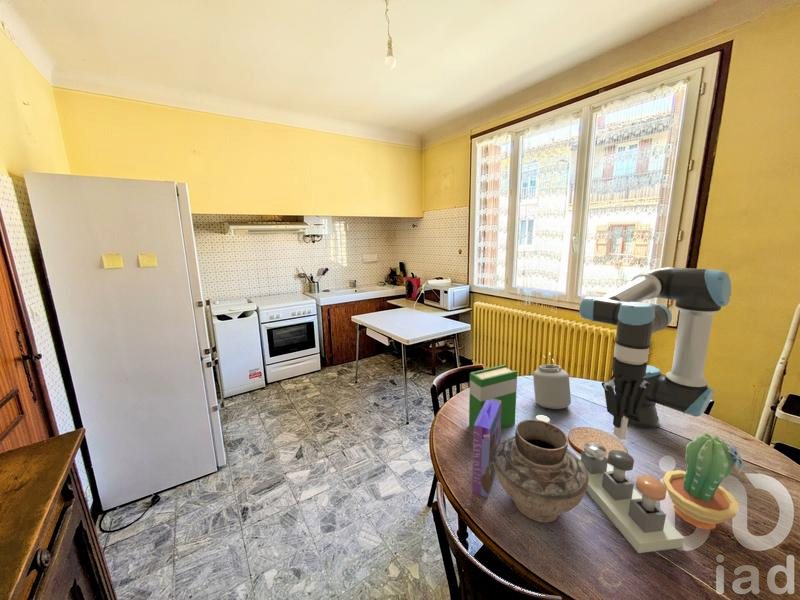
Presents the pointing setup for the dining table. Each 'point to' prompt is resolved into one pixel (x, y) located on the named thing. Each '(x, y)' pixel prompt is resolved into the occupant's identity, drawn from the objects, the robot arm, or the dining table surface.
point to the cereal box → (485, 446)
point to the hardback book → (493, 392)
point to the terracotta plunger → (650, 491)
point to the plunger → (595, 451)
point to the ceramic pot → (540, 471)
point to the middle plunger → (620, 463)
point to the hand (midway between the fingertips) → (619, 436)
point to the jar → (552, 386)
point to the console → (629, 509)
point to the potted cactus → (704, 483)
